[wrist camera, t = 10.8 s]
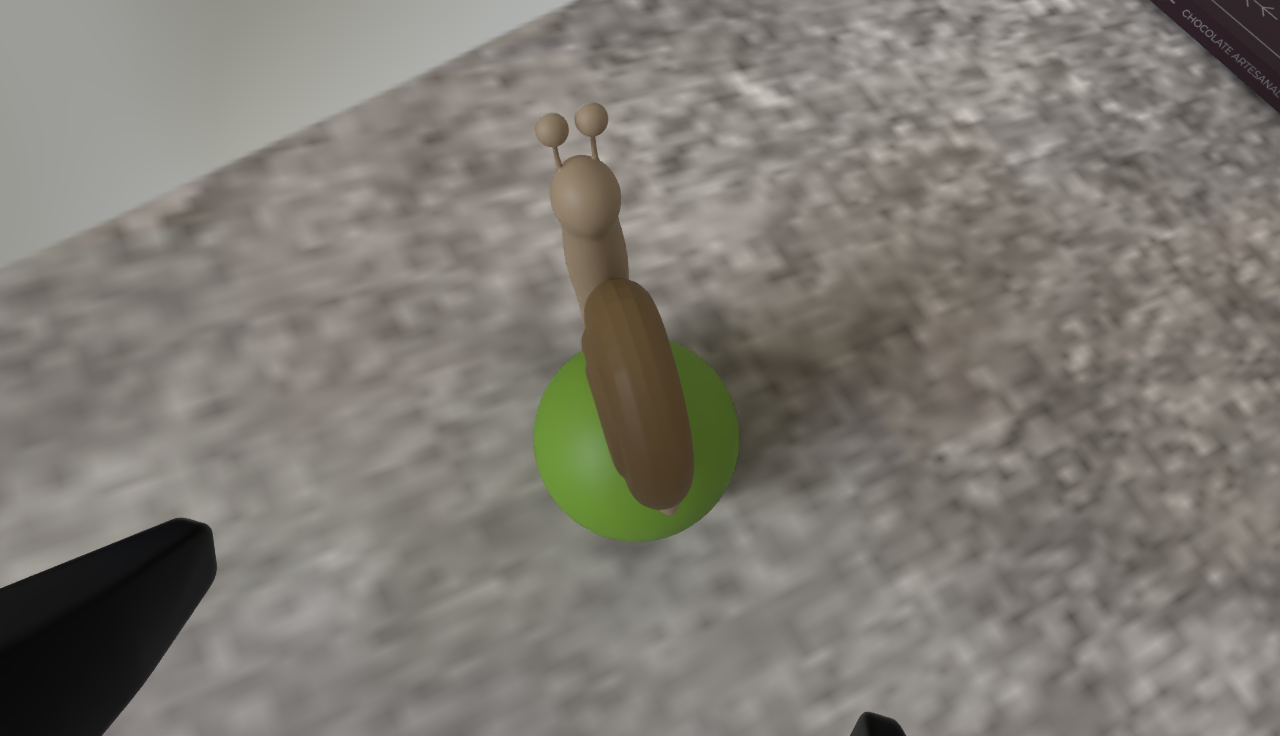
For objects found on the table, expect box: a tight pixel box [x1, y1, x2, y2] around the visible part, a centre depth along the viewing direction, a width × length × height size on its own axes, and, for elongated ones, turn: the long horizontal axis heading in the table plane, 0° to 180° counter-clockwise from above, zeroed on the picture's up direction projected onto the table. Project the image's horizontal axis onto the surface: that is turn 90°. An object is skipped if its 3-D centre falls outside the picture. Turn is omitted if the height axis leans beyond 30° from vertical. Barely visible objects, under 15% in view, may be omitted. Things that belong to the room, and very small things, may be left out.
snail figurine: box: [534, 102, 740, 542], centre depth 16 cm, size 5×6×12 cm
